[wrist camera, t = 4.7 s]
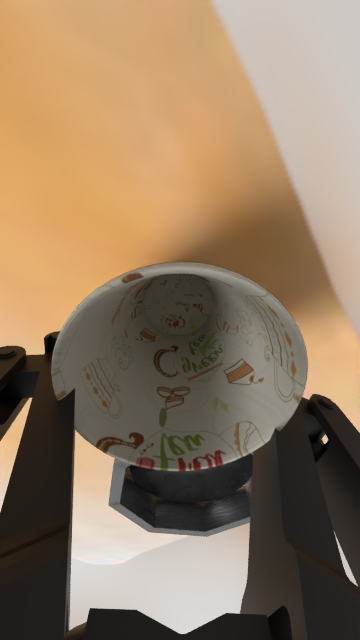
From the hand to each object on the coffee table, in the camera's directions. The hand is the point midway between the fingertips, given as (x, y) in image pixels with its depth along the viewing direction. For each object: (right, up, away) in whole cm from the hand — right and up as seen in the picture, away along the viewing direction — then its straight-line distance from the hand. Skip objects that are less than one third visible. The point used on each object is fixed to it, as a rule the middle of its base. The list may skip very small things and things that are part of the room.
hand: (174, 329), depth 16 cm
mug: (0, 0, 0) cm, 1 cm away
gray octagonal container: (+2, -17, +7) cm, 19 cm away
